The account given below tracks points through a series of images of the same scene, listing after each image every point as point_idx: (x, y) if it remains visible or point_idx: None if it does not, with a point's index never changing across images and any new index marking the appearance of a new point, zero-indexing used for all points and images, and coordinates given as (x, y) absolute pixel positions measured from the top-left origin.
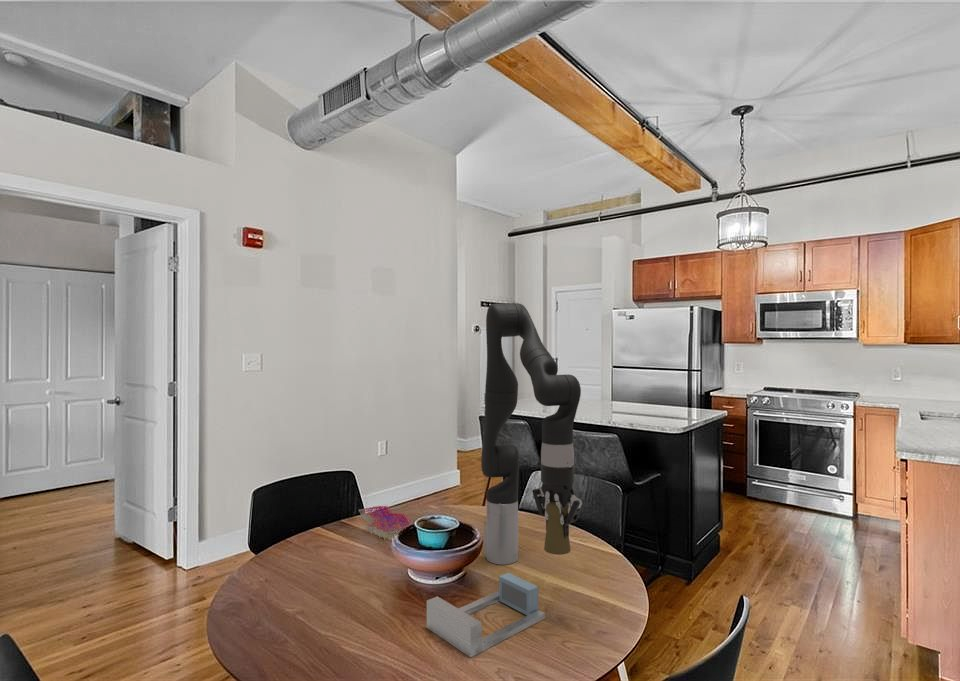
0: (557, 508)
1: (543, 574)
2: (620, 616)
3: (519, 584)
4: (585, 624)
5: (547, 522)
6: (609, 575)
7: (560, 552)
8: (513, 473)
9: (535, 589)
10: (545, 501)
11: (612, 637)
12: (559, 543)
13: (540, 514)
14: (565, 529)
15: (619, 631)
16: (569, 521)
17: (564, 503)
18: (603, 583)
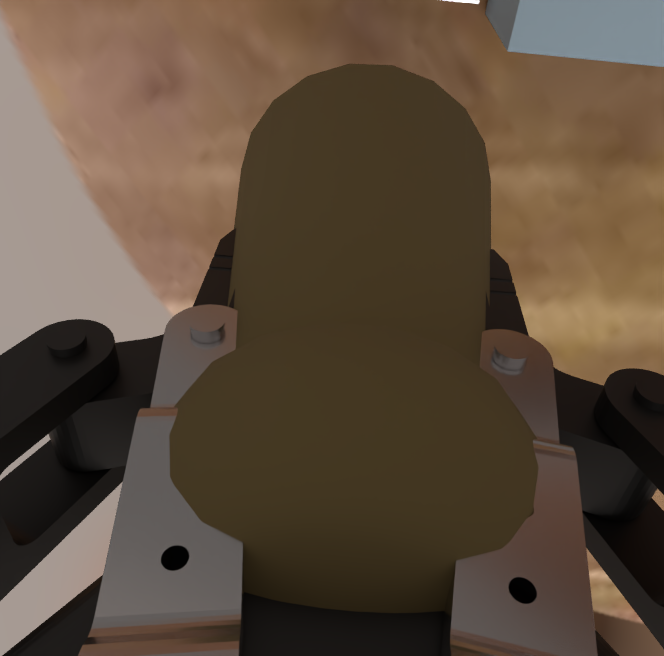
0: (198, 470)
1: (634, 335)
2: (194, 242)
3: None
4: (250, 91)
5: (471, 292)
6: None
7: (266, 121)
8: None
9: (512, 20)
10: (582, 583)
11: (104, 77)
12: (266, 157)
13: (644, 372)
14: (202, 295)
15: (120, 141)
16: (37, 344)
17: (40, 625)
18: None
